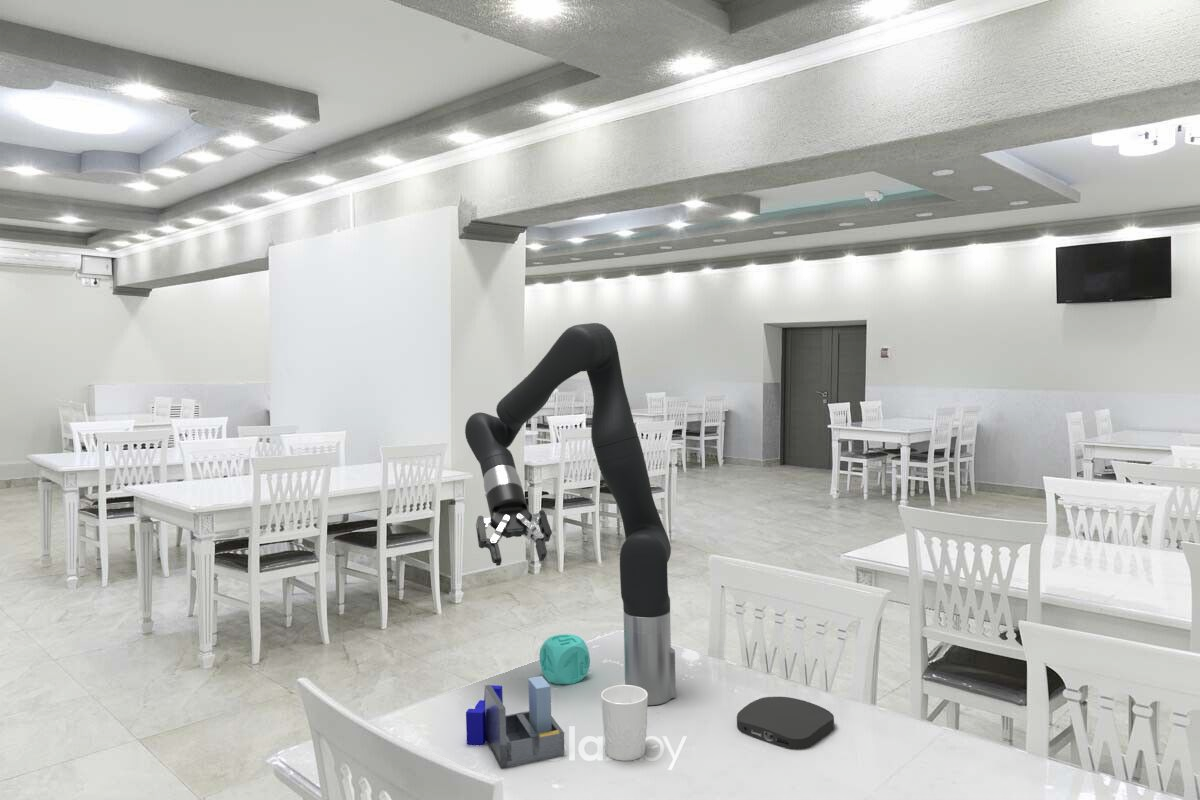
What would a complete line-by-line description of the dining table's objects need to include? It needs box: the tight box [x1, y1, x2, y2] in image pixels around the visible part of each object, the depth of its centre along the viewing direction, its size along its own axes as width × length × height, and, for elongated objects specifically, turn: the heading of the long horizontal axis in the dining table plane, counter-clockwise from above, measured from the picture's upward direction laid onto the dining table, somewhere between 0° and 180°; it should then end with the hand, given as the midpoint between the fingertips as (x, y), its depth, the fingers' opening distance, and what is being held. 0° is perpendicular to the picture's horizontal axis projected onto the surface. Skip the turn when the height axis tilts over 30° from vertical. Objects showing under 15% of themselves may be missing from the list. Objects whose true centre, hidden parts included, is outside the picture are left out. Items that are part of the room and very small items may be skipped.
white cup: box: [600, 684, 648, 762], centre depth 137 cm, size 8×8×10 cm
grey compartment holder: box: [484, 684, 566, 770], centre depth 139 cm, size 11×10×10 cm
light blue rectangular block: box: [528, 675, 552, 736], centre depth 140 cm, size 2×5×10 cm, turn 21°
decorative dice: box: [539, 633, 591, 685], centre depth 170 cm, size 8×8×8 cm
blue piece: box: [465, 684, 504, 747], centre depth 147 cm, size 12×4×6 cm, turn 170°
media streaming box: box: [736, 696, 835, 751], centre depth 145 cm, size 15×15×3 cm
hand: (521, 561), depth 154 cm, fingers open, 8 cm apart
